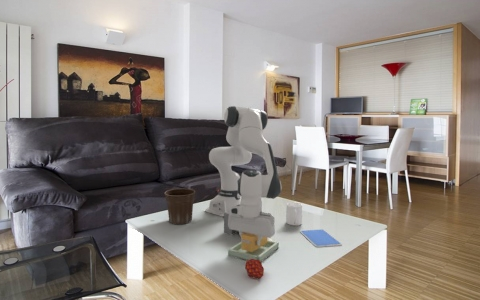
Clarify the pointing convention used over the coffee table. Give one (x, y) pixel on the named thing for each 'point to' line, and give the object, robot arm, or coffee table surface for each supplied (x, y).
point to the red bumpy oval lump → (254, 268)
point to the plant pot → (180, 205)
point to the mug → (294, 213)
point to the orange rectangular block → (251, 242)
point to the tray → (257, 254)
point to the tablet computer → (320, 238)
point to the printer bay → (226, 228)
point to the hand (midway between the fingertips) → (250, 243)
